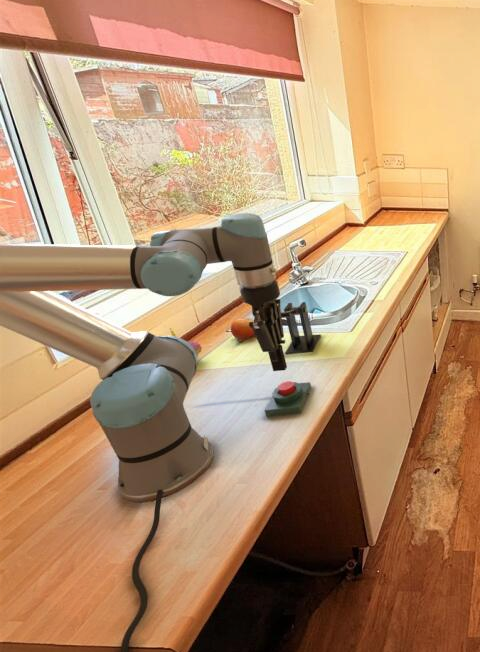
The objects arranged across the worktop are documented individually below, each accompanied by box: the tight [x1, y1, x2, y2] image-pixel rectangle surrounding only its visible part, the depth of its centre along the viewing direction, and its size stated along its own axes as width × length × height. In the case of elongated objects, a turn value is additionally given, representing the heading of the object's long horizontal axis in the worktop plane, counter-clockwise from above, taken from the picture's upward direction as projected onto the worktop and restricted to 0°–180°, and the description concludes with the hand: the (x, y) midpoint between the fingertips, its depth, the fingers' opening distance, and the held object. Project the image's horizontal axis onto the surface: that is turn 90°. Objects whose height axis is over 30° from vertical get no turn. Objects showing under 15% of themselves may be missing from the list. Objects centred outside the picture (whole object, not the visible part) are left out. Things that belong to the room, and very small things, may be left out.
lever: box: [281, 305, 300, 319], centre depth 118 cm, size 14×5×2 cm, turn 10°
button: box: [277, 380, 295, 395], centre depth 103 cm, size 4×4×2 cm
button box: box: [264, 381, 312, 418], centre depth 104 cm, size 10×8×4 cm
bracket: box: [283, 301, 322, 355], centre depth 126 cm, size 10×8×15 cm
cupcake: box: [169, 327, 203, 363], centre depth 117 cm, size 9×8×12 cm
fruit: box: [230, 317, 256, 344], centre depth 132 cm, size 8×8×8 cm
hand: (280, 368), depth 100 cm, fingers closed
